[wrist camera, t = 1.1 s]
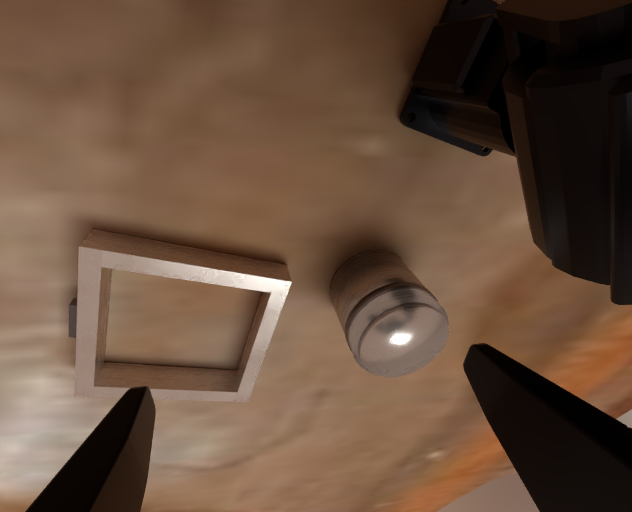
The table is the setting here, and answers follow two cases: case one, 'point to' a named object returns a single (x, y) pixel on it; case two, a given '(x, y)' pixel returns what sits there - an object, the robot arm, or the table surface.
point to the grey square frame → (175, 262)
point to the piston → (387, 314)
